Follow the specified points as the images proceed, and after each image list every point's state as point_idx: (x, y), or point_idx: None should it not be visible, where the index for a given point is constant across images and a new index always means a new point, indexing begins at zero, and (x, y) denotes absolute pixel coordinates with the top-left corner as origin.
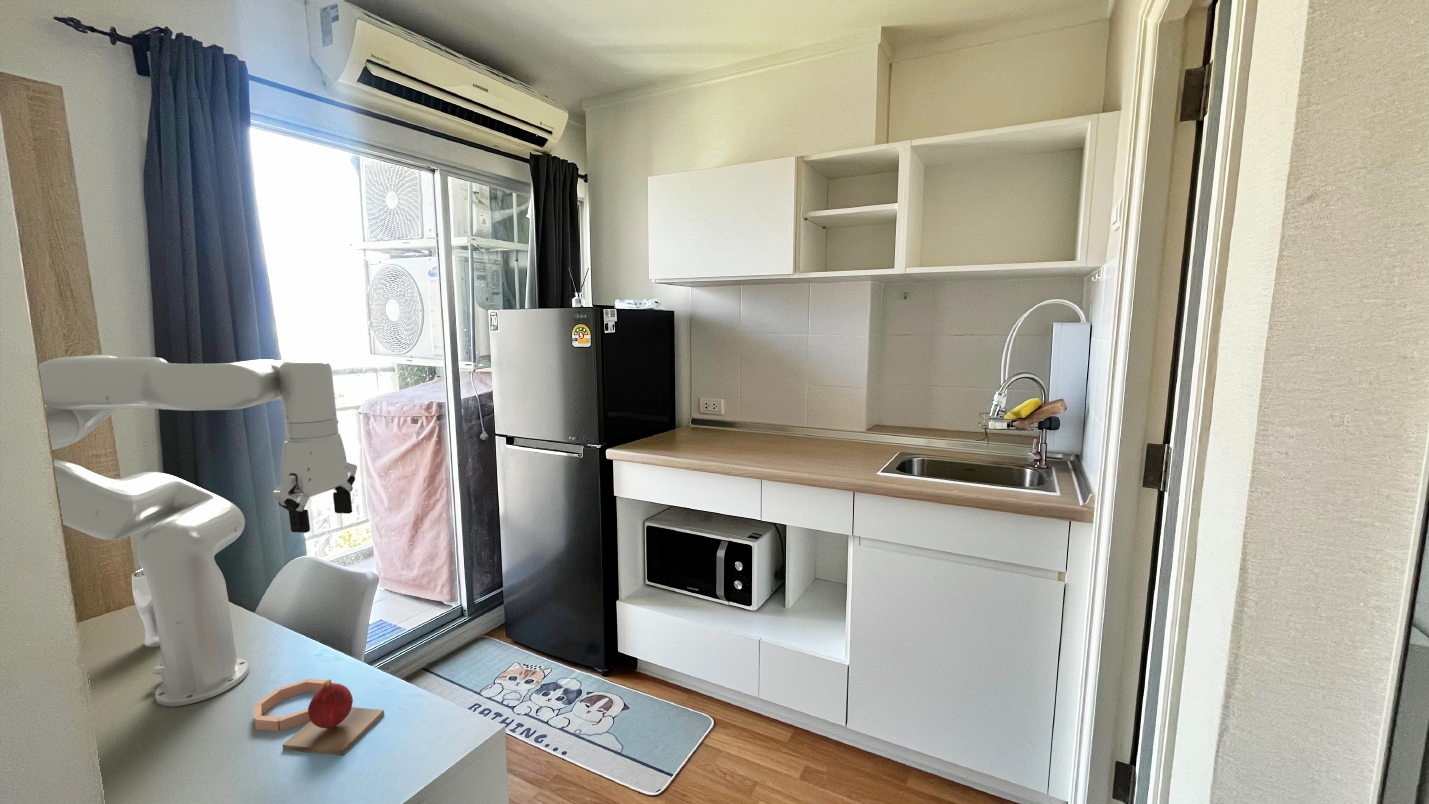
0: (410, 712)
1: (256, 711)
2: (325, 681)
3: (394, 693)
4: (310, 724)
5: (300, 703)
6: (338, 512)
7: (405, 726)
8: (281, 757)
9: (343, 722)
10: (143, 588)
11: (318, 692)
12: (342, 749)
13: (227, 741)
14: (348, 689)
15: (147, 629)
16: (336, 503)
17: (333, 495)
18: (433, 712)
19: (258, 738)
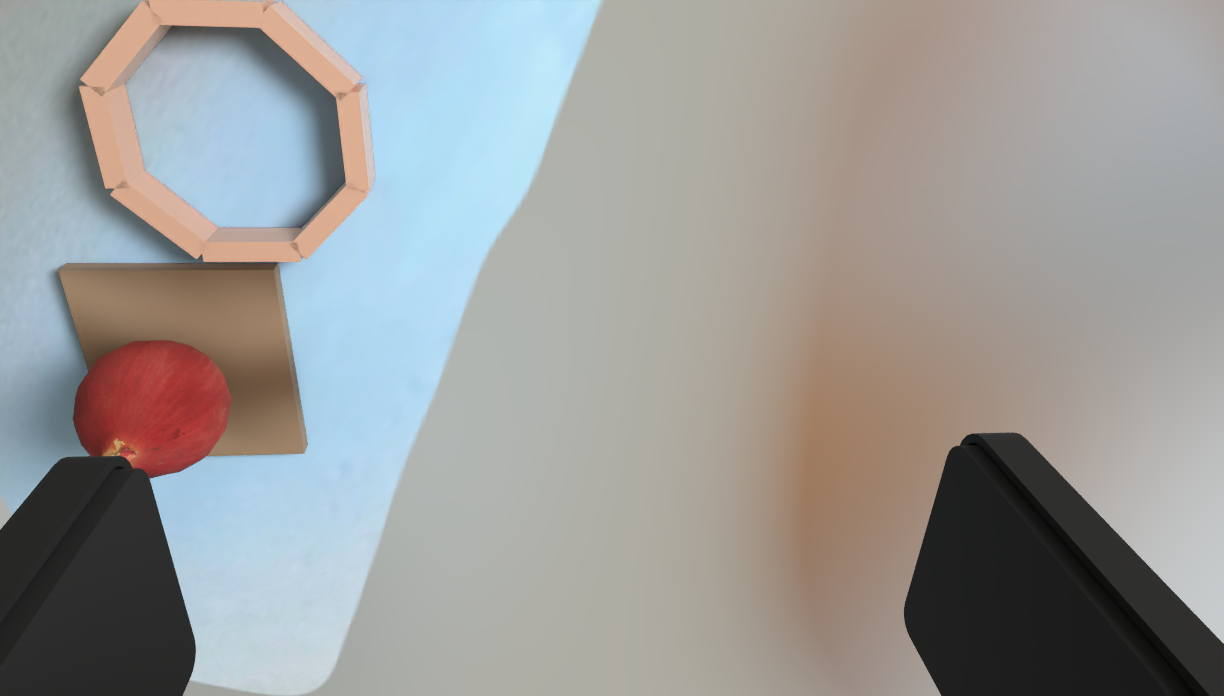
0: (337, 504)
1: (116, 48)
2: None
3: (407, 408)
4: (168, 284)
5: (276, 124)
6: (942, 492)
7: (280, 526)
8: (40, 286)
9: None
10: None
11: (95, 427)
12: None
13: (9, 18)
14: (208, 447)
15: None
16: (1032, 584)
17: (1152, 687)
18: (353, 557)
19: (70, 129)
